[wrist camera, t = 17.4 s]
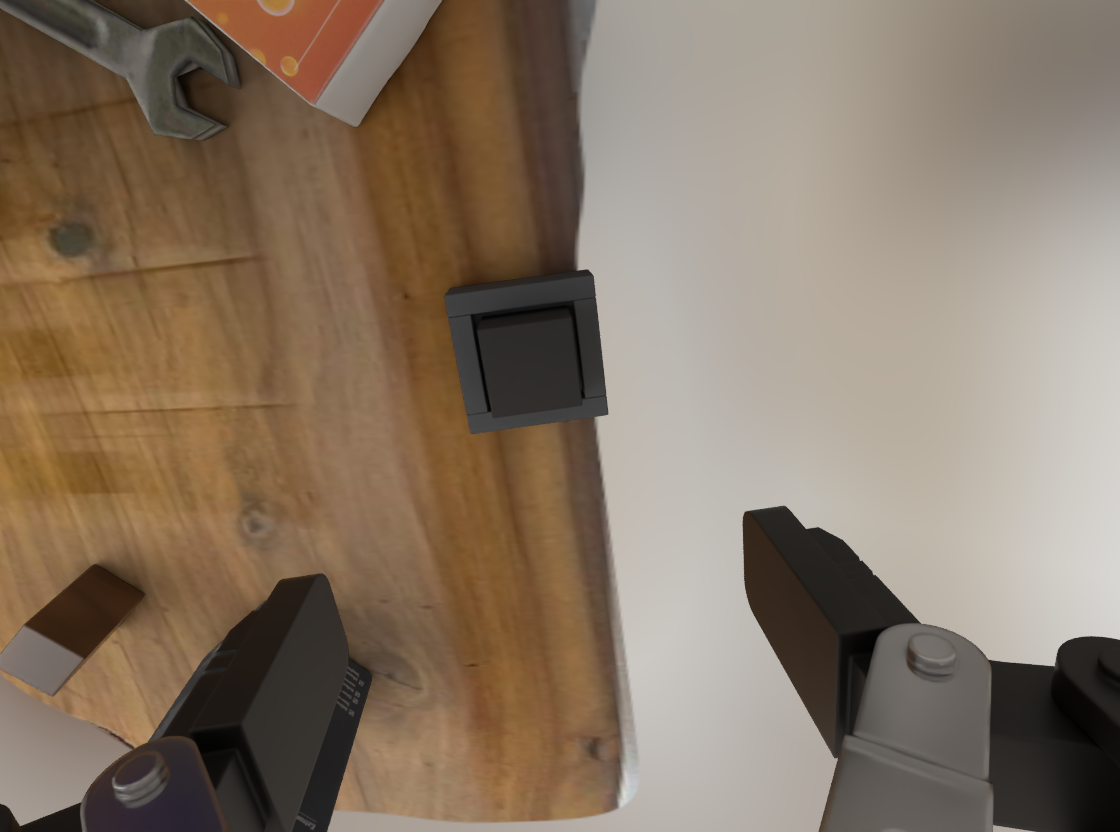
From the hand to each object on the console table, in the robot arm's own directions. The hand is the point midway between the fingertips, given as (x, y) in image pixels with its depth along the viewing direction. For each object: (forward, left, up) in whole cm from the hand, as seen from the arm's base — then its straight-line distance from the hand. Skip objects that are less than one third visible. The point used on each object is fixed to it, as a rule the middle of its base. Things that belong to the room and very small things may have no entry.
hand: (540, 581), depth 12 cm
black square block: (0, 0, -19) cm, 19 cm away
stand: (+3, -27, -20) cm, 33 cm away
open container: (0, 0, -20) cm, 20 cm away
